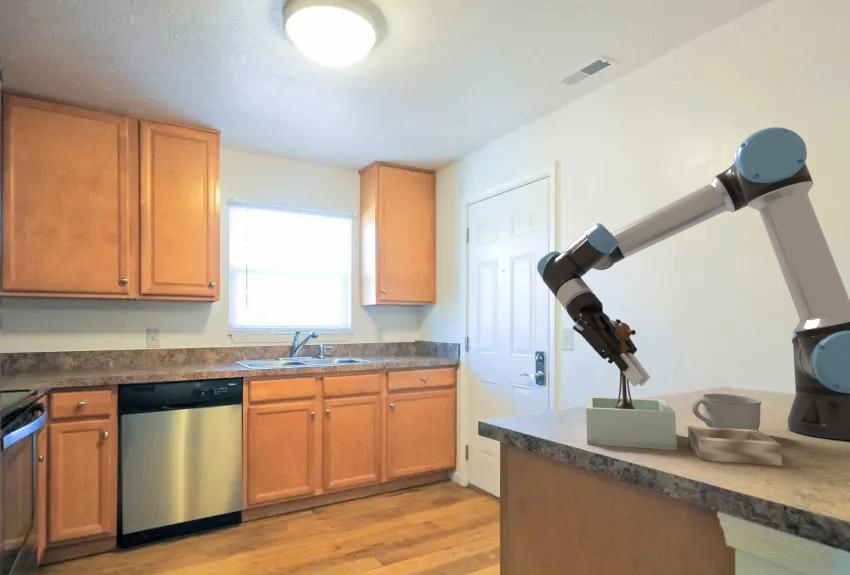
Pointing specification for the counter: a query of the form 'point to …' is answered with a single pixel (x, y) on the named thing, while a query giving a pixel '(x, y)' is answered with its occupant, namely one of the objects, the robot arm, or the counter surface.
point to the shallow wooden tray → (734, 445)
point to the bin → (631, 423)
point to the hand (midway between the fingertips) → (641, 381)
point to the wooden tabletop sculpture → (622, 334)
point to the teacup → (729, 411)
